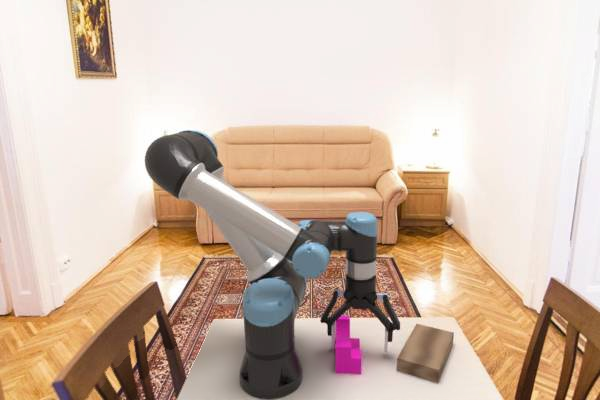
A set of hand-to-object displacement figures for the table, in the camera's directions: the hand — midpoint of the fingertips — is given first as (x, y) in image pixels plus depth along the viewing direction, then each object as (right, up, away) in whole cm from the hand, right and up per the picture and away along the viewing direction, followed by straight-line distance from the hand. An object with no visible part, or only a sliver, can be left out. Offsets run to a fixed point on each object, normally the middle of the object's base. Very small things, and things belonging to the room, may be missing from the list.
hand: (359, 349), depth 115 cm
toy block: (-3, -2, 0) cm, 4 cm away
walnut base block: (+17, -2, -2) cm, 17 cm away
